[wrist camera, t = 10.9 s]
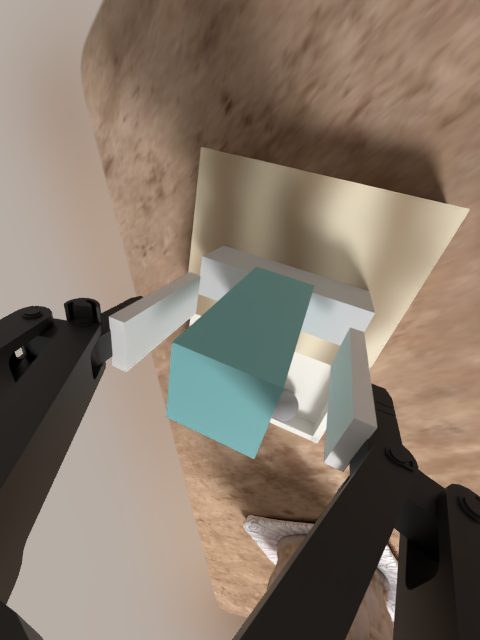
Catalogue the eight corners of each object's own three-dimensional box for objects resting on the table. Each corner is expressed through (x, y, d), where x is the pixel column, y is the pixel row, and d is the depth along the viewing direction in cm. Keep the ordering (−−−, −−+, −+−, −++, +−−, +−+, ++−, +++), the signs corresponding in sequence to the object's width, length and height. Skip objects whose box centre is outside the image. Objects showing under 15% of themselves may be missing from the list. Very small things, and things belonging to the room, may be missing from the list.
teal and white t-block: (372, 285, 19) (419, 445, 7) (349, 329, 21) (357, 509, 9) (225, 239, 21) (79, 303, 10) (217, 283, 23) (90, 379, 12)
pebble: (292, 428, 27) (291, 424, 30) (304, 398, 27) (302, 397, 31) (262, 413, 28) (264, 411, 31) (275, 384, 28) (275, 385, 32)
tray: (361, 353, 26) (363, 368, 24) (319, 426, 32) (317, 443, 30) (202, 295, 29) (191, 304, 27) (192, 371, 35) (182, 383, 33)
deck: (447, 205, 18) (470, 209, 15) (361, 353, 26) (364, 377, 22) (222, 152, 22) (201, 146, 19) (202, 295, 29) (184, 309, 26)
